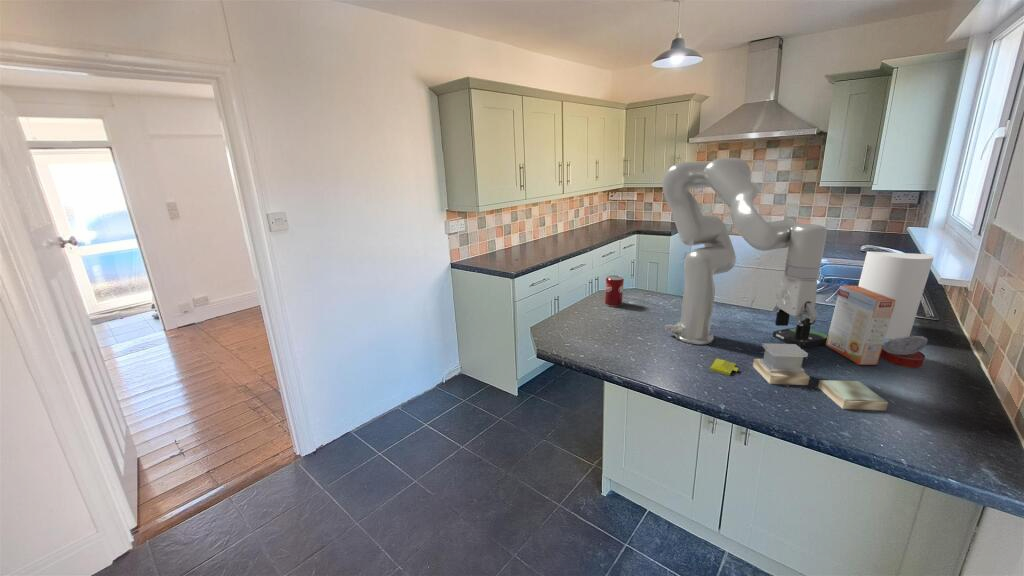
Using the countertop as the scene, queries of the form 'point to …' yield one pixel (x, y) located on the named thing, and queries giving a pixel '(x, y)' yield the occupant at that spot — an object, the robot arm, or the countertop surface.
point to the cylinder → (897, 285)
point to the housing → (783, 358)
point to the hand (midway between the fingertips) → (790, 331)
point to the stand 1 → (781, 376)
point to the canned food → (904, 351)
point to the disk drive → (813, 340)
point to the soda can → (614, 290)
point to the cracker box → (860, 324)
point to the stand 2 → (852, 395)
